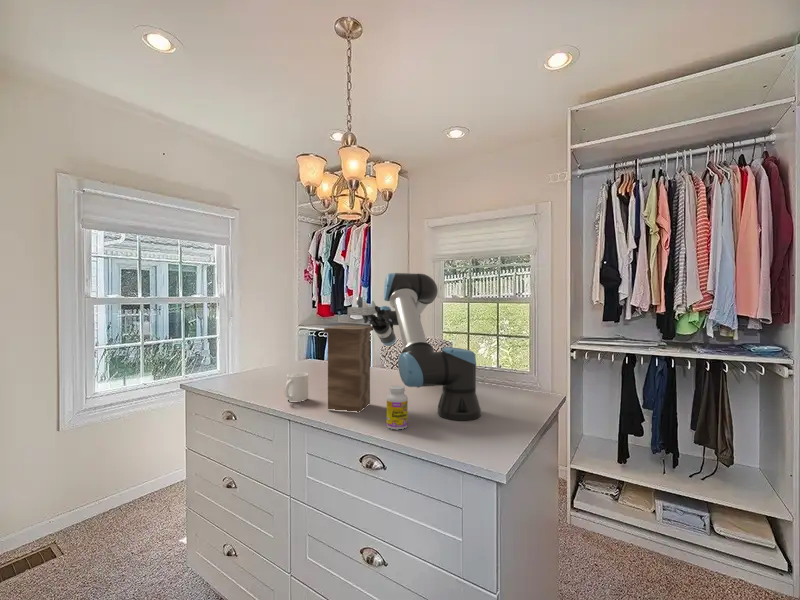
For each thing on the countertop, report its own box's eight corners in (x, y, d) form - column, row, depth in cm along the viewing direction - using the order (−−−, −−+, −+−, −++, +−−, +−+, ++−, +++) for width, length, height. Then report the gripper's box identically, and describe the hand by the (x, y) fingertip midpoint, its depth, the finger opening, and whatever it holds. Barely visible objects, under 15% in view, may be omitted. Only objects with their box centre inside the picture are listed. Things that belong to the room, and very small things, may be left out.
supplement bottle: (389, 431, 119) (389, 390, 119) (384, 424, 125) (384, 385, 125) (410, 429, 121) (410, 388, 121) (404, 422, 127) (404, 383, 127)
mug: (294, 406, 146) (294, 379, 146) (276, 404, 149) (276, 377, 149) (312, 398, 157) (312, 373, 157) (295, 396, 160) (295, 371, 160)
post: (339, 401, 153) (339, 325, 153) (373, 403, 150) (373, 326, 149) (324, 411, 140) (324, 328, 139) (360, 414, 136) (360, 329, 136)
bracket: (364, 312, 173) (364, 297, 173) (381, 313, 171) (381, 297, 171) (347, 314, 154) (347, 297, 153) (366, 315, 152) (366, 297, 152)
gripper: (397, 334, 181) (384, 311, 162) (364, 334, 185) (348, 311, 166) (399, 320, 185) (387, 296, 165) (367, 319, 189) (351, 296, 169)
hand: (368, 303), depth 165 cm, fingers closed on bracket, 3 cm apart
